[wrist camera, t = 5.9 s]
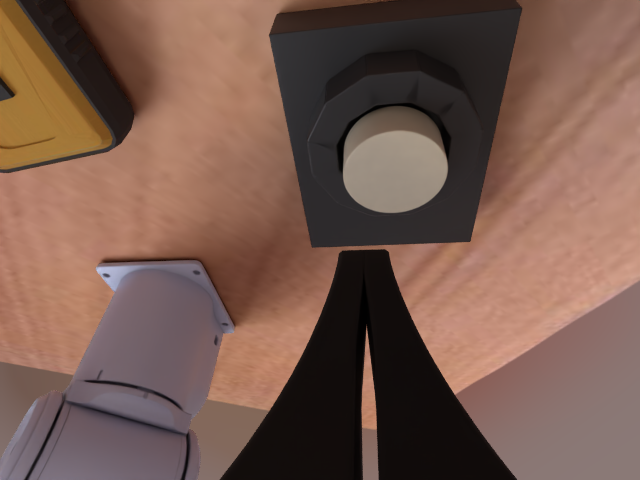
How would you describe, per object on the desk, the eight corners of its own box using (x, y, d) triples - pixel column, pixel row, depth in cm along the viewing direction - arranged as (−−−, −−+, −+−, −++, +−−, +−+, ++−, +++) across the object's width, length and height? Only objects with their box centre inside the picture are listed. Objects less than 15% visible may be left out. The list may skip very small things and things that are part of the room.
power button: (437, 184, 18) (442, 211, 17) (347, 189, 19) (346, 215, 17) (446, 101, 15) (454, 126, 14) (340, 109, 16) (338, 134, 14)
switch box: (463, 215, 24) (477, 267, 21) (314, 221, 25) (309, 272, 23) (506, -13, 15) (538, 27, 13) (276, 13, 17) (261, 54, 14)
